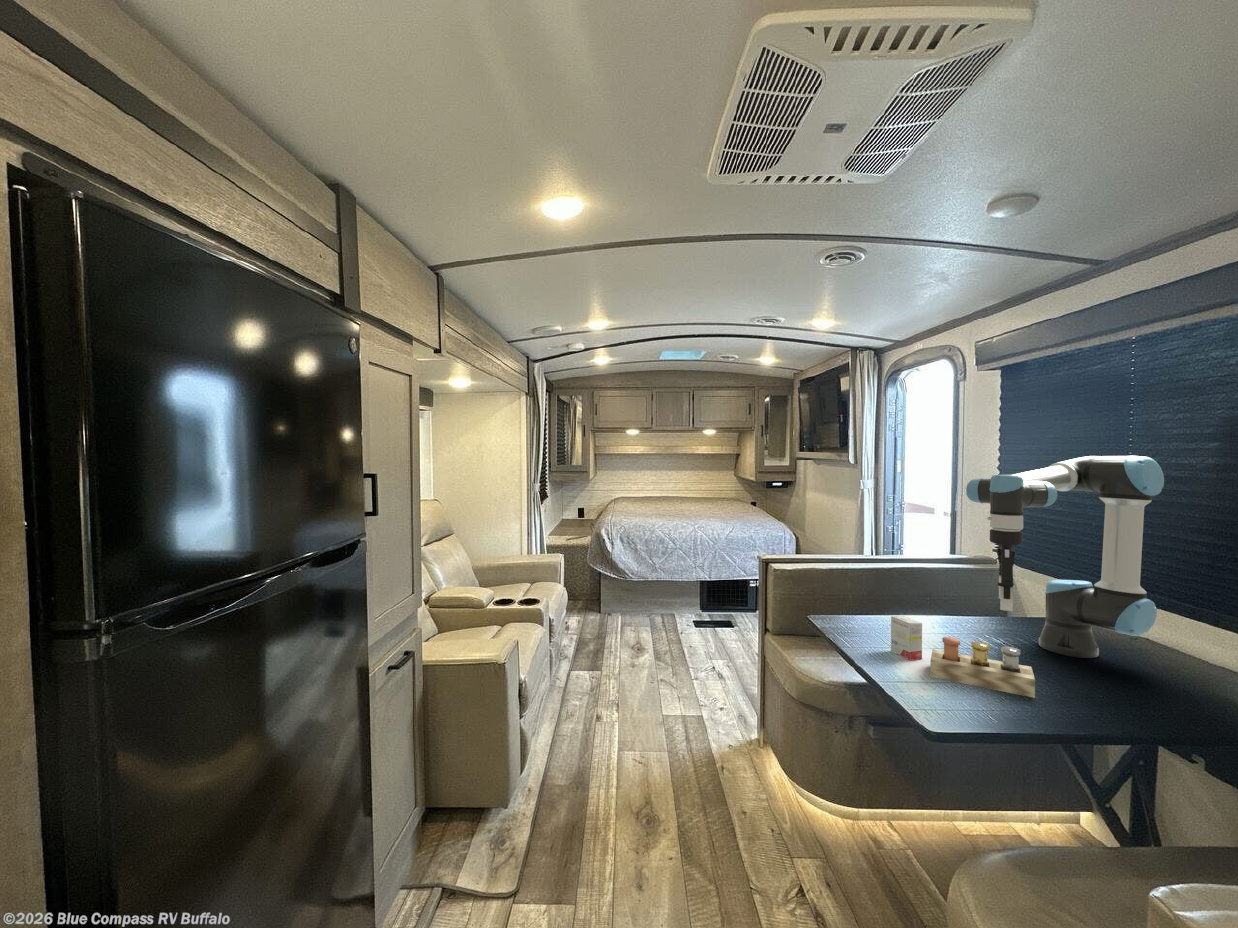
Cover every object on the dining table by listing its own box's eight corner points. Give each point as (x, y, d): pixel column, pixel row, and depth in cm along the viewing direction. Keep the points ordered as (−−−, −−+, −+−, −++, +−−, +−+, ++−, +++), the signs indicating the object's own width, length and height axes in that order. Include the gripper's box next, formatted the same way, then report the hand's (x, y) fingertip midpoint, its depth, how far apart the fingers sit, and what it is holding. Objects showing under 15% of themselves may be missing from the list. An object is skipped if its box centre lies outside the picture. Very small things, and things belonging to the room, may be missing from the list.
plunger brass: (989, 665, 150) (989, 643, 150) (989, 670, 146) (989, 648, 146) (970, 662, 152) (970, 640, 152) (970, 667, 148) (970, 645, 148)
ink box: (923, 659, 165) (923, 622, 165) (910, 660, 164) (910, 623, 163) (902, 649, 173) (902, 614, 173) (890, 650, 172) (890, 615, 172)
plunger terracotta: (960, 660, 154) (960, 638, 153) (959, 665, 150) (960, 643, 150) (942, 657, 156) (942, 635, 156) (942, 662, 152) (942, 640, 152)
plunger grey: (1019, 671, 146) (1019, 648, 146) (1020, 676, 142) (1021, 653, 142) (1000, 667, 148) (1000, 645, 148) (1001, 673, 145) (1001, 650, 144)
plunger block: (1031, 684, 147) (1031, 666, 146) (1034, 697, 138) (1035, 679, 138) (932, 665, 160) (932, 649, 160) (930, 676, 152) (930, 659, 152)
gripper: (989, 523, 158) (988, 592, 158) (990, 533, 137) (989, 613, 138) (1020, 525, 154) (1019, 596, 154) (1026, 536, 133) (1025, 618, 134)
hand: (1005, 604), depth 146 cm, fingers open, 13 cm apart
